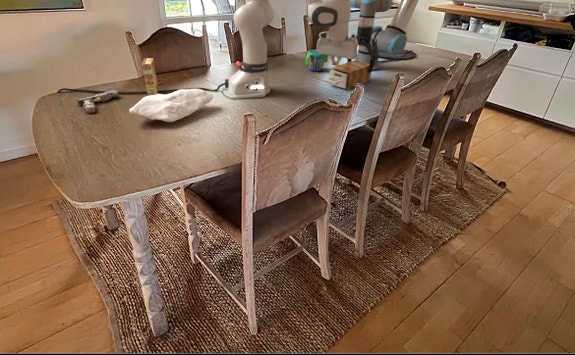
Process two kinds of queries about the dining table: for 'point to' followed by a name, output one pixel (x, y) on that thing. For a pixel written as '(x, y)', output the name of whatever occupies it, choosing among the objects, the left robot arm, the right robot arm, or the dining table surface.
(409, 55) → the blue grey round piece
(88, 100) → the handgun
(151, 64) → the candy box
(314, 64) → the snack cup
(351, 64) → the cabinet
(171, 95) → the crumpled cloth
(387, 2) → the right robot arm
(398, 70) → the dining table surface
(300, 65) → the dining table surface
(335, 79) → the drawer
